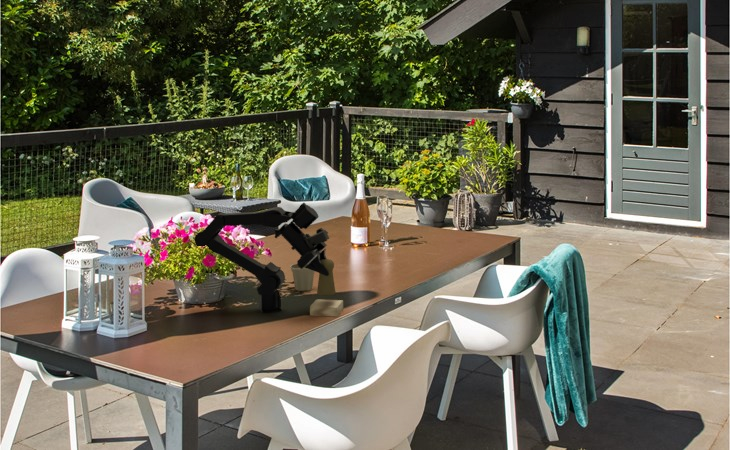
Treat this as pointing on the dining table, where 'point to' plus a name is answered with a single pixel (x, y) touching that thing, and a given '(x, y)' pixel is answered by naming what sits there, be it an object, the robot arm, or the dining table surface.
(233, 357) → the dining table surface
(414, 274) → the dining table surface
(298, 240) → the robot arm
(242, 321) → the dining table surface
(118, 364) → the dining table surface
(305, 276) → the flower pot
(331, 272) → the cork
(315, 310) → the beige square block
